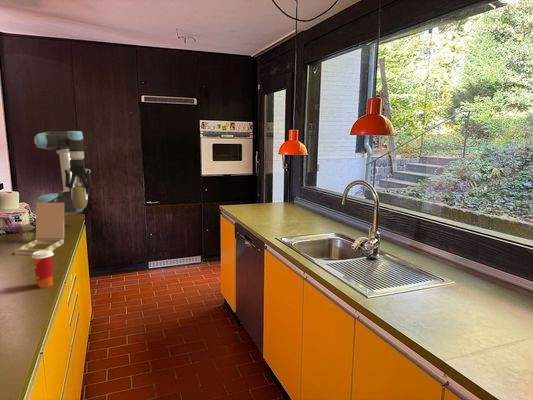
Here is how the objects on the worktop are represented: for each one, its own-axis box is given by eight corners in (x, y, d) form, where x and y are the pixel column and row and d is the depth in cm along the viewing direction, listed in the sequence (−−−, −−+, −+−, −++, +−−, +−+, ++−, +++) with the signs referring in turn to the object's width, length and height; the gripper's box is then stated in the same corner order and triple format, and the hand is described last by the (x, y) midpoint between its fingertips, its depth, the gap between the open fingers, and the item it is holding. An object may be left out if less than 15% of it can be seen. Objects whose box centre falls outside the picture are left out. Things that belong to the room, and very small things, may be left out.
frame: (36, 243, 210) (35, 239, 209) (63, 243, 211) (63, 239, 210) (14, 254, 190) (14, 250, 190) (45, 254, 191) (44, 249, 191)
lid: (35, 238, 209) (37, 238, 211) (63, 238, 210) (64, 238, 212) (36, 202, 209) (37, 202, 211) (63, 202, 210) (64, 202, 212)
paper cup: (40, 281, 156) (37, 249, 153) (59, 281, 156) (56, 249, 154) (30, 289, 148) (27, 255, 146) (50, 288, 149) (47, 255, 146)
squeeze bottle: (81, 209, 209) (79, 177, 206) (69, 208, 211) (66, 177, 208) (91, 207, 217) (89, 176, 214) (79, 206, 218) (76, 175, 215)
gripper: (55, 159, 205) (59, 200, 209) (92, 159, 206) (94, 200, 210) (62, 158, 212) (65, 198, 216) (97, 158, 213) (99, 198, 217)
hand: (79, 199), depth 213 cm, fingers closed on squeeze bottle, 6 cm apart
